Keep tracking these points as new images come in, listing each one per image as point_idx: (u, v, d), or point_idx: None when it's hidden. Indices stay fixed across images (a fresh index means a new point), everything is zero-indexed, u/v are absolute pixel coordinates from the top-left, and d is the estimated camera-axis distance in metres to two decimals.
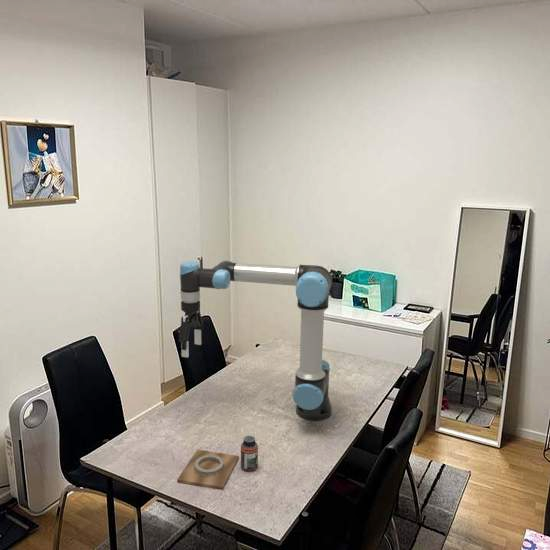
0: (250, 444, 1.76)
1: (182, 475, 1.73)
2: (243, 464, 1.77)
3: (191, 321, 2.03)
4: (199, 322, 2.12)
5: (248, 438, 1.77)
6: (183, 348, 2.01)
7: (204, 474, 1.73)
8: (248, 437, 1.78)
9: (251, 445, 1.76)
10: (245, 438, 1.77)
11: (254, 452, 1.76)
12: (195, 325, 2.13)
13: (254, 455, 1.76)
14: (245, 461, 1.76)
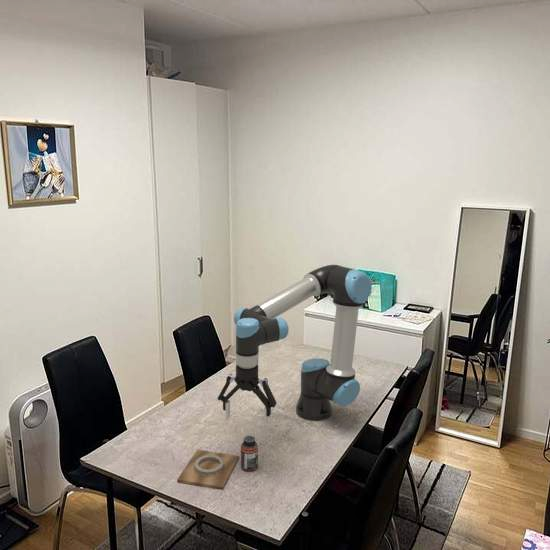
0: (250, 444, 1.76)
1: (182, 475, 1.73)
2: (243, 464, 1.77)
3: (237, 385, 1.73)
4: (263, 398, 1.72)
5: (248, 438, 1.77)
6: None
7: (204, 474, 1.73)
8: (248, 437, 1.78)
9: (251, 445, 1.76)
10: (245, 438, 1.77)
11: (254, 452, 1.76)
12: None
13: (254, 455, 1.76)
14: (245, 461, 1.76)
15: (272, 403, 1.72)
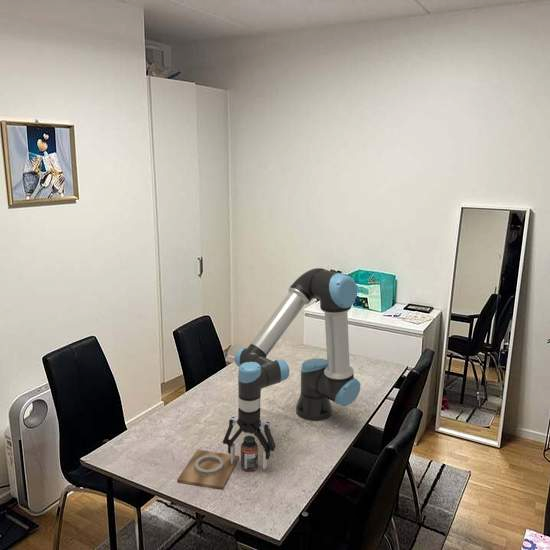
0: (250, 444, 1.76)
1: (182, 475, 1.73)
2: (243, 464, 1.77)
3: (239, 428, 1.76)
4: (263, 442, 1.75)
5: (248, 438, 1.77)
6: None
7: (204, 474, 1.73)
8: (248, 437, 1.78)
9: (251, 445, 1.76)
10: (245, 438, 1.77)
11: (254, 452, 1.76)
12: None
13: (254, 455, 1.76)
14: (245, 461, 1.76)
15: (271, 447, 1.75)
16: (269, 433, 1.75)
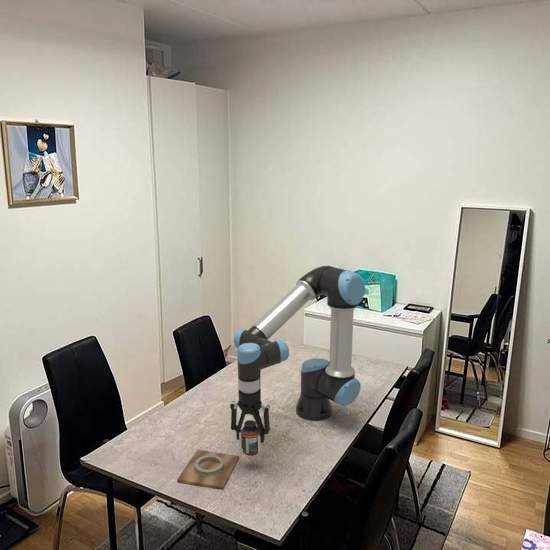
0: (251, 428, 1.75)
1: (182, 475, 1.73)
2: (245, 449, 1.76)
3: None
4: (260, 425, 1.74)
5: (249, 422, 1.76)
6: None
7: (204, 474, 1.73)
8: (249, 421, 1.77)
9: (252, 429, 1.75)
10: (246, 423, 1.76)
11: (255, 436, 1.75)
12: None
13: (255, 439, 1.75)
14: (247, 445, 1.76)
15: (266, 430, 1.74)
16: (267, 416, 1.74)
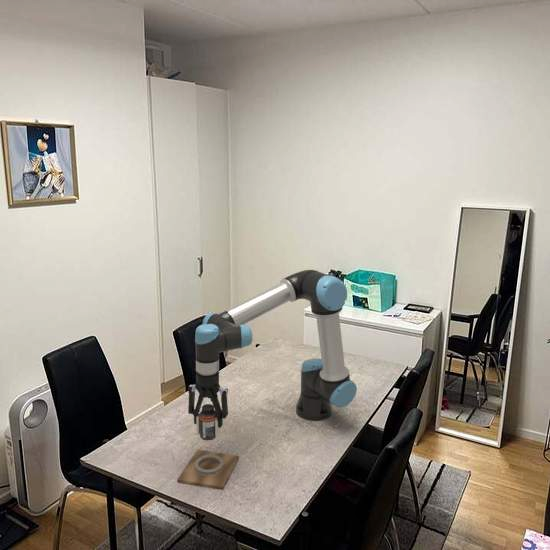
0: (208, 412, 1.71)
1: (182, 475, 1.73)
2: (202, 433, 1.72)
3: (199, 394, 1.70)
4: (217, 408, 1.70)
5: (207, 406, 1.72)
6: None
7: (204, 474, 1.73)
8: (207, 405, 1.73)
9: (209, 413, 1.71)
10: (203, 406, 1.72)
11: (212, 420, 1.71)
12: None
13: (213, 424, 1.71)
14: (204, 430, 1.71)
15: (224, 414, 1.70)
16: (225, 400, 1.70)
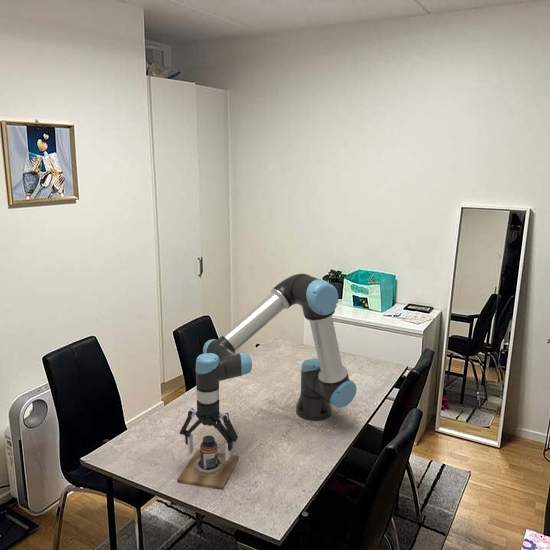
0: (209, 444, 1.74)
1: (182, 475, 1.73)
2: (202, 464, 1.75)
3: (198, 420, 1.73)
4: (224, 433, 1.72)
5: (207, 438, 1.75)
6: None
7: (204, 474, 1.73)
8: (207, 437, 1.76)
9: (210, 445, 1.74)
10: (204, 438, 1.75)
11: (213, 452, 1.74)
12: None
13: (213, 455, 1.74)
14: (204, 461, 1.74)
15: (233, 438, 1.72)
16: (229, 424, 1.72)
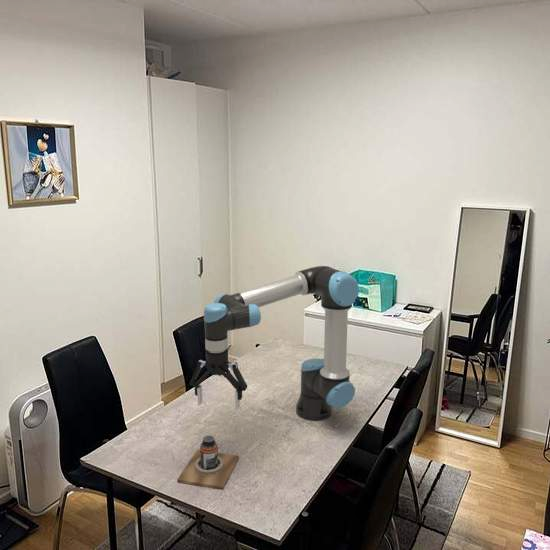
0: (209, 444, 1.74)
1: (182, 475, 1.73)
2: (202, 464, 1.75)
3: (207, 370, 1.74)
4: (233, 382, 1.74)
5: (207, 438, 1.75)
6: None
7: (204, 474, 1.73)
8: (207, 437, 1.76)
9: (210, 445, 1.74)
10: (204, 438, 1.75)
11: (213, 452, 1.74)
12: None
13: (213, 455, 1.74)
14: (204, 461, 1.74)
15: (243, 386, 1.73)
16: (238, 373, 1.74)
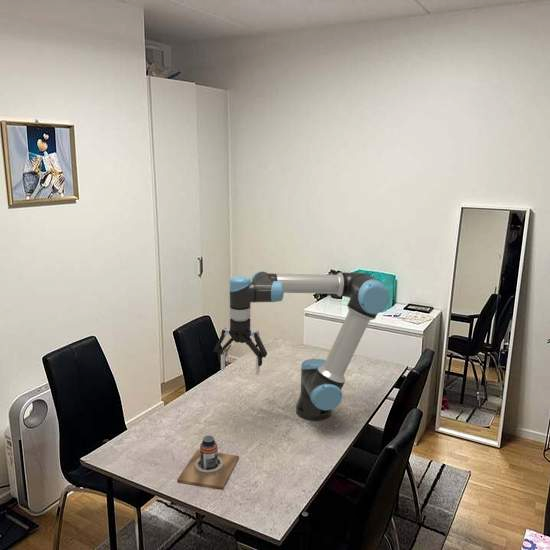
0: (209, 444, 1.74)
1: (182, 475, 1.73)
2: (202, 464, 1.75)
3: (231, 338, 1.89)
4: (254, 349, 1.89)
5: (207, 438, 1.75)
6: None
7: (204, 474, 1.73)
8: (207, 437, 1.76)
9: (210, 445, 1.74)
10: (204, 438, 1.75)
11: (213, 452, 1.74)
12: None
13: (213, 455, 1.74)
14: (204, 461, 1.74)
15: (263, 353, 1.88)
16: (259, 341, 1.88)
